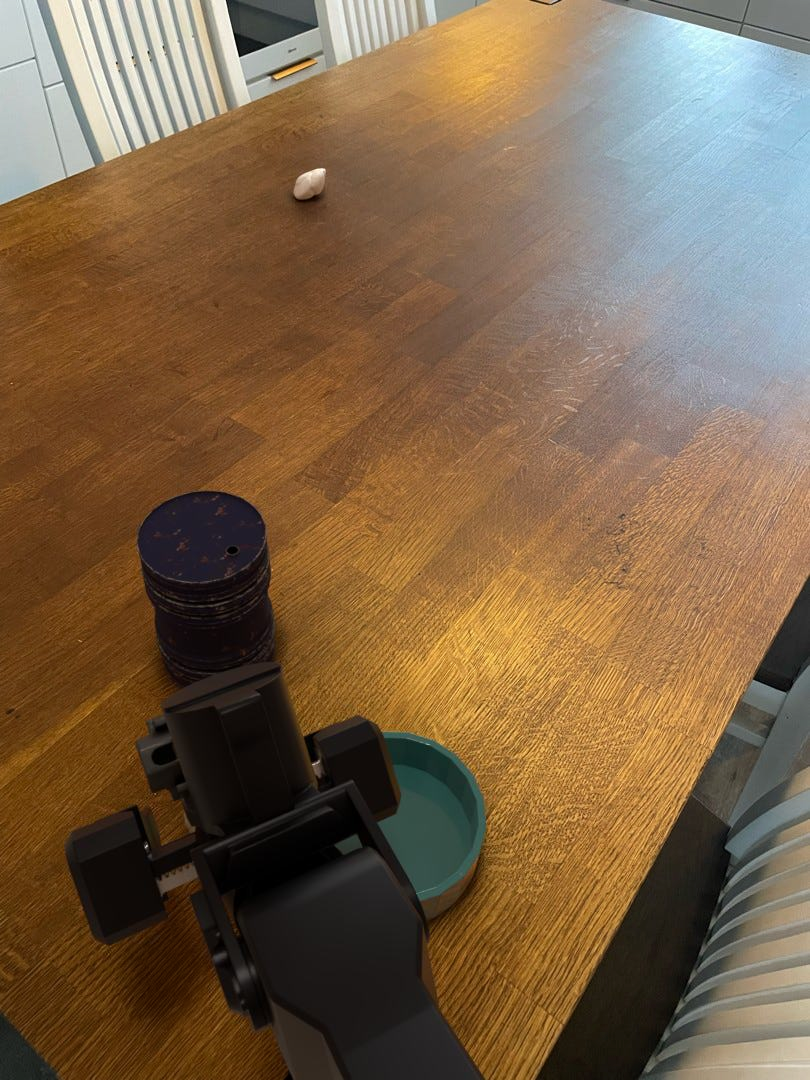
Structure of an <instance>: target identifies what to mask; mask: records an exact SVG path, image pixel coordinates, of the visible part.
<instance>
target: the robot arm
mask: <svg viewBox="0 0 810 1080" xmlns="http://www.w3.org/2000/svg"><path fill="white" fill-rule="evenodd" d="M282 667H283V666H282V665H281V663H280V662H276V661H273V662H263V663H256V664H251V665H246V666H242V667H238V668H235V669H231V670H228V671H225V672H222V673H219V674H216V675H213V676H210V677H207V678H205V679H202V680H200V681H198V682H195V683H193V684H191V685H189V686H187V687H184V688H182V689H181V688H180V689H179V690H177V691H175V692H173V693H172V694H170V695H169V696H168V697H166V698H165V699H164V700H163V701H162V702H161V705H160V707H161V711H162V713H163V714H161V715H159V716H156V717H153V718H151V719H147V720H145V723H146V726H147V730H148V734H146V735H145V736H143V737H139V738H138V739H136V740H135V742H134V746H135V749H136V752H137V755H138V757H139V761H140V763H141V766H142V769H143V773H144V775H145V778H146V781H147V784H148V787H149V790H150V792H151V793H152V794H157V793H159V792H162V791H164V790H166V791H168V792H169V793H170V796H171V799H172V801H173V802H174V803H175V802H177V801H180V802H181V805H182V808H183V811H185V814H186V817H187V820H188V822H189V823H190V825H191V826H192V827H195V832H193V833H187V834H186V835H184V836H181V837H178V838H177V839H174V840H172V841H170V842H169V841H168V842H167V843H165V844H162V842H161V835H160V832H159V828H158V825H157V823H156V820H155V817H154V813H153V811H152V808H151V806H147V807H145V808H143V809H142V810H140V809H141V808H140V807H139V806H138V804H134V805H131V806H129V807H126V808H123V809H121V810H118V811H117V812H114V813H112V814H108V815H107V816H105V817H102V818H99V819H96V820H95V821H94V822H92V823H89V824H86V825H84V826H82V827H79V828H77V829H74V830H72V831H71V832H70V834H69V836H68V838H67V839H66V841H65V843H64V855H65V859H66V863H67V866H68V869H69V870H68V871H69V872H70V875H71V879H72V881H73V884H74V887H75V890H76V892H77V896H78V898H79V900H80V905H81V907H82V910H83V913H84V915H85V918H86V921H87V924H88V927H89V931H90V933H91V934H92V937H93V939H94V940H95V941H96V942H98V943H101V944H103V945H106V946H108V947H110V946H112V945H114V944H116V943H118V942H121V941H123V940H126V939H128V938H130V937H133V936H134V935H136V934H139V933H140V932H142V931H144V930H147V929H149V928H151V927H154V926H155V925H158V924H160V923H162V922H164V921H166V920H169V918H170V917H169V915H168V912H167V909H166V906H165V902H167V901H168V900H169V893H168V892H169V891H171V890H173V889H176V888H177V887H180V886H182V885H185V884H186V883H187V884H188V883H190V882H191V881H194V880H196V879H198V881H199V884H200V887H201V889H200V890H198V891H195V892H193V893H192V894H189V899H190V903H191V906H192V910H193V912H194V915H195V917H196V918H195V919H196V921H197V923H198V926H199V929H200V933H201V934H202V937H203V941H204V943H205V946H206V949H207V952H208V954H209V957H210V960H211V963H212V965H213V969H214V971H215V974H216V976H217V980H218V982H219V986H220V988H221V991H222V994H223V997H224V1000H225V1002H226V1005H227V1008H228V1010H229V1012H232V1013H234V1014H236V1015H239V1016H241V1017H243V1019H246V1018H248V1021H249V1023H250V1026H251V1028H252V1030H253V1033H254V1034H258V1033H259V1032H261V1031H263V1030H266V1029H267V1028H269V1027H270V1030H271V1032H272V1034H273V1036H274V1039H275V1041H276V1043H277V1045H278V1048H279V1050H280V1053H281V1055H282V1057H283V1059H284V1061H285V1064H286V1066H287V1068H288V1071H289V1073H290V1076H291V1077H292V1080H487V1079H486V1078H485V1076H484V1075H483V1073H482V1072H481V1070H480V1069H479V1066H477V1064H476V1063H475V1061H474V1060H473V1058H472V1057H471V1055H470V1053H469V1052H468V1050H467V1049H466V1047H465V1046H464V1044H463V1042H462V1041H461V1039H460V1038H459V1037H458V1034H457V1033H456V1032H455V1031H454V1030H455V1029H454V1028H453V1027H452V1026H451V1024H450V1023H449V1021H448V1020H447V1018H446V1017H445V1014H444V1013H443V1012H442V1010H441V1009H440V1002H439V997H438V992H437V988H436V983H435V977H434V973H433V972H434V971H433V967H432V963H431V957H430V951H429V947H428V944H429V941H430V938H431V937H430V936H431V935H430V928H429V924H428V921H427V920H426V917H425V914H424V911H423V908H422V905H421V903H420V901H419V898H418V896H417V894H416V891H415V889H414V888H413V886H412V884H411V882H410V880H409V878H408V876H407V874H406V873H405V871H404V869H403V867H402V866H401V864H400V862H399V860H398V859H397V857H396V855H395V853H394V852H393V850H392V848H391V846H390V845H389V843H388V841H387V839H386V837H385V836H384V834H383V832H382V830H381V829H380V827H379V825H378V822H380V821H382V820H384V819H386V818H388V817H391V816H393V815H395V814H397V811H398V807H399V804H400V801H401V791H400V788H399V785H398V782H397V778H396V775H395V772H394V768H393V765H392V762H391V758H390V755H389V752H388V748H387V745H386V742H385V739H384V735H383V733H382V732H383V731H382V730H381V728H380V726H379V724H378V723H376V722H374V721H372V720H370V719H369V718H366V717H364V716H362V715H360V714H355V715H354V716H352V717H349V718H347V719H343V720H342V721H339V722H335V723H333V724H331V725H328V726H325V727H323V728H321V729H320V728H319V729H318V730H315V731H313V732H311V733H308V734H306V735H304V734H303V731H302V728H301V725H300V721H299V719H298V716H297V712H296V709H295V705H294V703H293V702H294V701H293V699H292V696H291V693H290V689H289V686H288V683H287V679H286V677H285V673H284V671H283V668H282ZM354 835H357V836H358V838H359V840H360V842H361V845H362V848H358V849H355V850H353V851H351V852H349V853H347V854H345V855H343V854H342V852H341V851H340V850H339V849H338V848H337V847H336V846H335V844H337V843H339V842H341V841H344V840H346V839H348V838H350V837H352V836H354ZM173 871H174V872H173ZM166 874H167V875H166ZM229 915H230V916H229ZM230 917H231V918H230ZM231 920H232V921H233V923H234V926H235V928H236V930H237V932H238V934H239V935H237V934H236V932H235V929H234V926H233V923H232V921H231Z"/></svg>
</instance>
